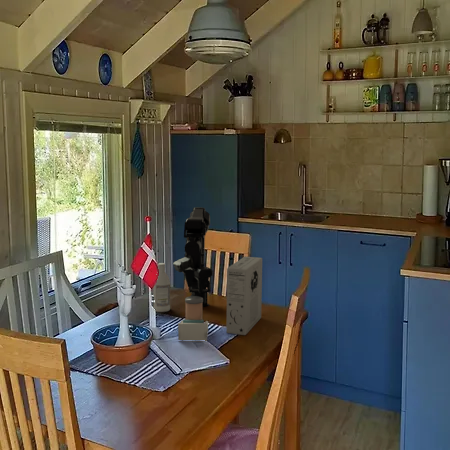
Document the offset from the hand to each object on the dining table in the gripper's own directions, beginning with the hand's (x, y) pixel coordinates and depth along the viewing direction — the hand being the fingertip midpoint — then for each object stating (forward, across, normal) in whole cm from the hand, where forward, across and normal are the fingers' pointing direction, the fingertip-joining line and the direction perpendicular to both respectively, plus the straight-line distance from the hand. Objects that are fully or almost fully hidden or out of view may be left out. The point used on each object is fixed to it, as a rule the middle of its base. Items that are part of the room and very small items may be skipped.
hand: (194, 289), depth 216 cm
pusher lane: (+13, +14, -8) cm, 20 cm away
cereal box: (+13, +13, +15) cm, 24 cm away
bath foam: (+13, -20, -5) cm, 24 cm away
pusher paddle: (+12, +16, -9) cm, 22 cm away
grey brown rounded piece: (+12, +12, -7) cm, 18 cm away
